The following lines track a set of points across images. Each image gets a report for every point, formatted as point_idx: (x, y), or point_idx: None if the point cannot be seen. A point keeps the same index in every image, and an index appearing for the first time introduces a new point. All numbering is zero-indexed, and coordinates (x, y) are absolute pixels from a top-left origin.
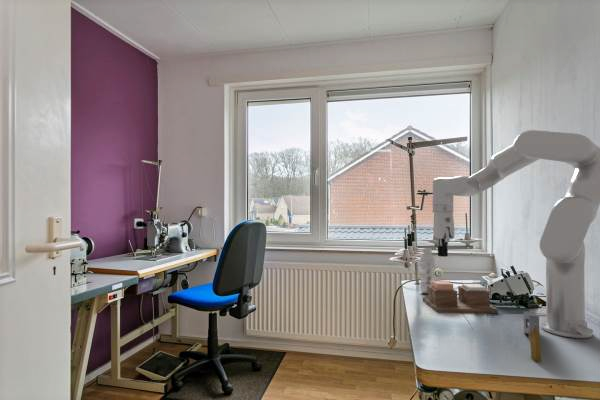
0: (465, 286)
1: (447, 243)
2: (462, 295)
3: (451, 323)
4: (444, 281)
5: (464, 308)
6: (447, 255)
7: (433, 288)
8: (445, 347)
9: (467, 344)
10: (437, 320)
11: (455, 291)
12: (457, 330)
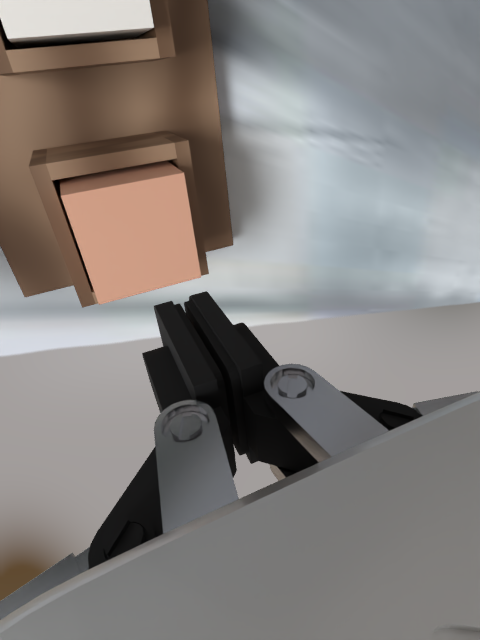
0: (82, 34)
1: (335, 397)
2: (79, 67)
3: (343, 205)
4: (98, 220)
5: (216, 106)
6: (207, 294)
7: None
8: (476, 250)
9: (477, 196)
10: (315, 247)
11: (189, 153)
12: (398, 199)
